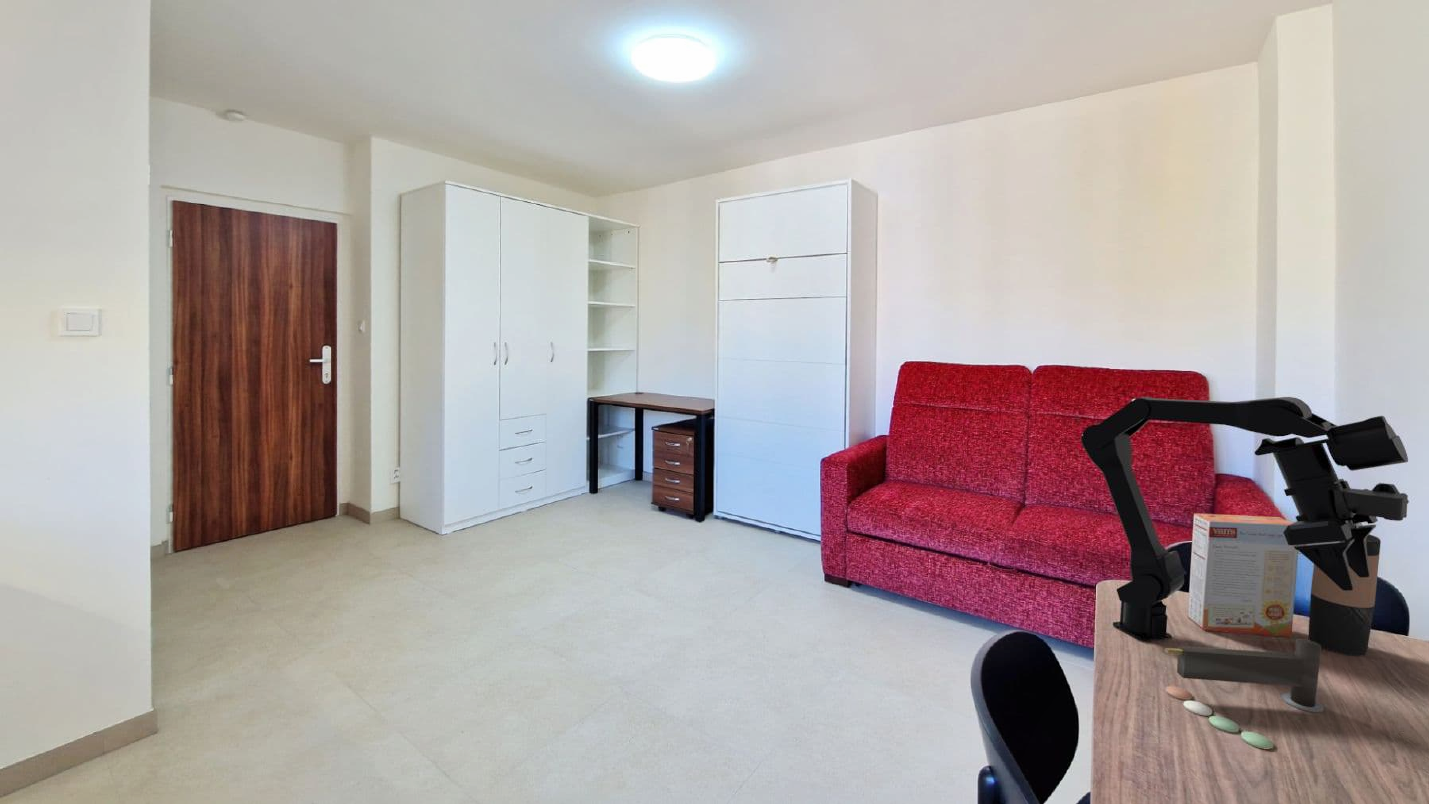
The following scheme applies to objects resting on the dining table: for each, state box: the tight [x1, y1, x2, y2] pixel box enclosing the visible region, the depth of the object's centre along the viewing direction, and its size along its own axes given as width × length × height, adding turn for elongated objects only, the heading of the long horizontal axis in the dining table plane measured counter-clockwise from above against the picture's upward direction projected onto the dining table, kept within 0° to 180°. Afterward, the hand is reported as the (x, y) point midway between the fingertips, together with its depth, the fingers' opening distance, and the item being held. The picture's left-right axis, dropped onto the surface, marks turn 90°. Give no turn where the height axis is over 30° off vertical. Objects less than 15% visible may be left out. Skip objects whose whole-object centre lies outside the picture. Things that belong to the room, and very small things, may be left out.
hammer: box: [1164, 638, 1322, 707], centre depth 89 cm, size 3×20×9 cm, turn 81°
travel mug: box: [1308, 534, 1381, 657], centre depth 104 cm, size 8×8×20 cm
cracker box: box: [1187, 513, 1299, 638], centre depth 110 cm, size 14×6×21 cm, turn 77°
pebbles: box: [1164, 685, 1325, 749], centre depth 87 cm, size 14×20×1 cm
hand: (1356, 583), depth 86 cm, fingers open, 9 cm apart
